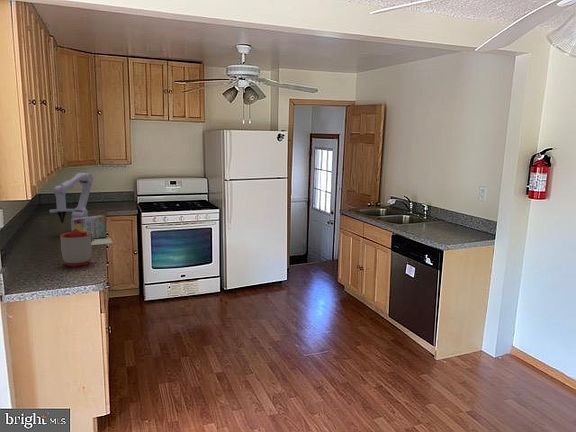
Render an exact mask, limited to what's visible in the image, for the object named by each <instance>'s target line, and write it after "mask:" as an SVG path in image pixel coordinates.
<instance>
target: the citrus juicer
mask: <svg viewBox="0 0 576 432" xmlns="http://www.w3.org/2000/svg"><path fill="white" fill-rule="evenodd" d="M59 236H60V238H59V239H60V250H61V251H60V253H61V256H62V260H63V262H64V264H65V266H66V267H67V266H68V267H72V268H75V267H82V266H86V265H88V264H89V263H90V261H91V257H92V247H93V246H92V245H91V242H92V241H94V239H92V235H91V234H89V235H87V232H84V231H79V230H77V229H74V230H73V231H72V230H71V231H68V232H63V233H61V234H60V235H59Z"/></svg>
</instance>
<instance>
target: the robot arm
mask: <svg viewBox="0 0 576 432" xmlns="http://www.w3.org/2000/svg"><path fill="white" fill-rule="evenodd" d="M93 181H94V177H93V174H92V173H90V172H78V173H76V174H75V175H74V176H73V177H71V179H69V180H68V179H65V180H64V182H61V183H60V184H58V185H56V186H54V189H53V193H54V197H55V199H56V200H55V201H56V209H55V208H54V209H49V213H50V214H52V213H53V214H54V213H57V215H58V217H59V220H60V223H61V224H63V223H64V221H65V218H66V215H67V213H69V212H70V213H71V212H72V213H71V219H73V218H82V217H89V215H88V213H89V211H88V209H87V208H86V207H87V204H88V200H89V195H90V193H91V189H92V184H93ZM76 183H79V184H80V185H81V186H82V189H81V192H80V195H79V200H78V204H77V207H75V208H67V201H66V194H67V193H68V191H69V190H70V189H71V188H73V187H74V184H76Z"/></svg>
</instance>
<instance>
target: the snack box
mask: <svg viewBox="0 0 576 432" xmlns="http://www.w3.org/2000/svg"><path fill="white" fill-rule="evenodd" d="M70 226H71V228H70V229H71V232H72V231H73V230H74V229H77V230H79V231H84V232H87V235H89V234H91V235H92V239H102V238H105V237H106V236H107V235H106V234H107V233H106V220H105V215H93V216H88V217H82V218H73V219H72V218H71V219H70Z"/></svg>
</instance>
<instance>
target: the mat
mask: <svg viewBox="0 0 576 432" xmlns="http://www.w3.org/2000/svg"><path fill="white" fill-rule="evenodd" d="M110 244H111V245H112V244H114V242H113V240H112V239H111V238H95V239H94V241H92V242H91V246H98V245H99V246H100V245H110Z"/></svg>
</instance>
